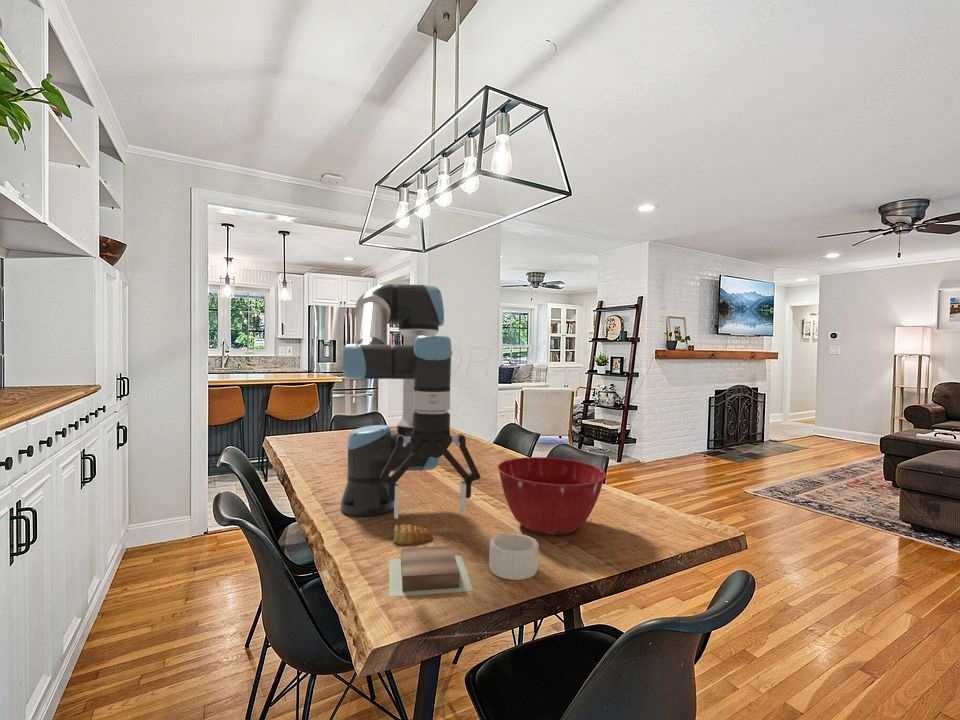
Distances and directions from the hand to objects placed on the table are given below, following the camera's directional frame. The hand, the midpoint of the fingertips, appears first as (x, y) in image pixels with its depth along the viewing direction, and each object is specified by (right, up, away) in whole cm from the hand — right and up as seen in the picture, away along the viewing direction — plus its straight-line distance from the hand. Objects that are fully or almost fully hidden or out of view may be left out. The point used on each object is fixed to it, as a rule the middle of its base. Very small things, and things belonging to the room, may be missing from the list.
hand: (429, 515), depth 102 cm
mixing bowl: (+29, -13, +31) cm, 44 cm away
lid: (0, -12, +1) cm, 12 cm away
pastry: (-7, -12, +19) cm, 24 cm away
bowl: (+17, -13, +4) cm, 22 cm away
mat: (0, -13, +1) cm, 13 cm away
